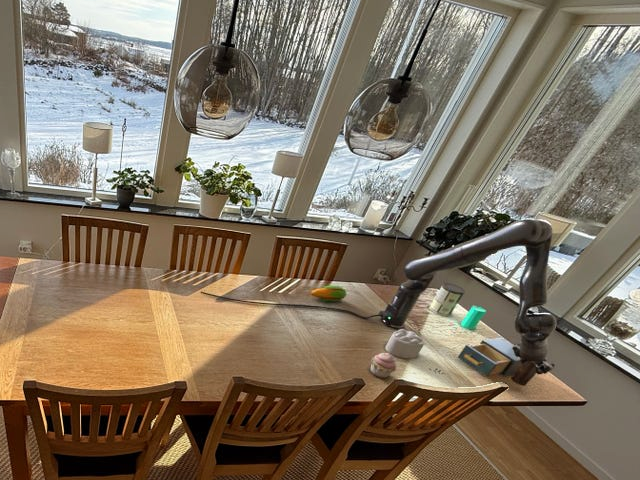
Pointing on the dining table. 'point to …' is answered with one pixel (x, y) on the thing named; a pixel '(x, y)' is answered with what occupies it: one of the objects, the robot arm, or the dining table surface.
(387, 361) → the cupcake
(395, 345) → the lumpy-topped squat cylinder
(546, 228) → the robot arm
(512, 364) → the cabinet
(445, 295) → the coffee can
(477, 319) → the candle
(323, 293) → the corn
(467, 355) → the drawer
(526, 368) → the pepper mill
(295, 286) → the dining table surface
